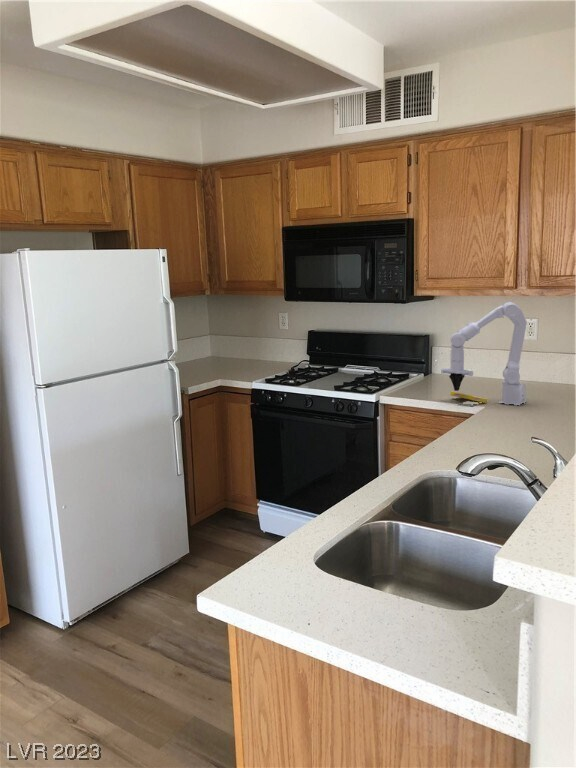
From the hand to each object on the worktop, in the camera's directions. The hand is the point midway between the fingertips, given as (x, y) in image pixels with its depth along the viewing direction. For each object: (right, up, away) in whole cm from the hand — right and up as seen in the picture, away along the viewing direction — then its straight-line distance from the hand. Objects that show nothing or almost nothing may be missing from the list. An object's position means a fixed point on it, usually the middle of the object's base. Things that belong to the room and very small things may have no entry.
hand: (456, 390), depth 275 cm
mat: (+5, -6, -3) cm, 9 cm away
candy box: (+2, -2, 0) cm, 3 cm away
